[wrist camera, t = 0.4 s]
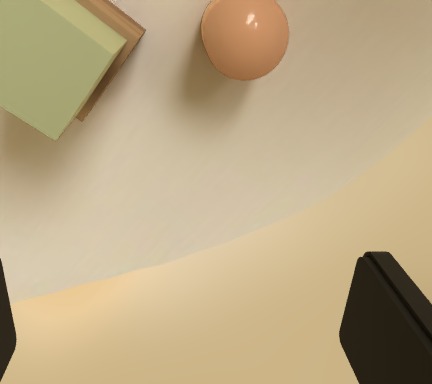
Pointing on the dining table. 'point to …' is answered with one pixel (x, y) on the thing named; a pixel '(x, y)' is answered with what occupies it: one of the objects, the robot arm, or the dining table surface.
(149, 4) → the dining table surface
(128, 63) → the dining table surface
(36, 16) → the sage cube
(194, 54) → the dining table surface
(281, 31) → the tan rounded knob
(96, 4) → the walnut base block
